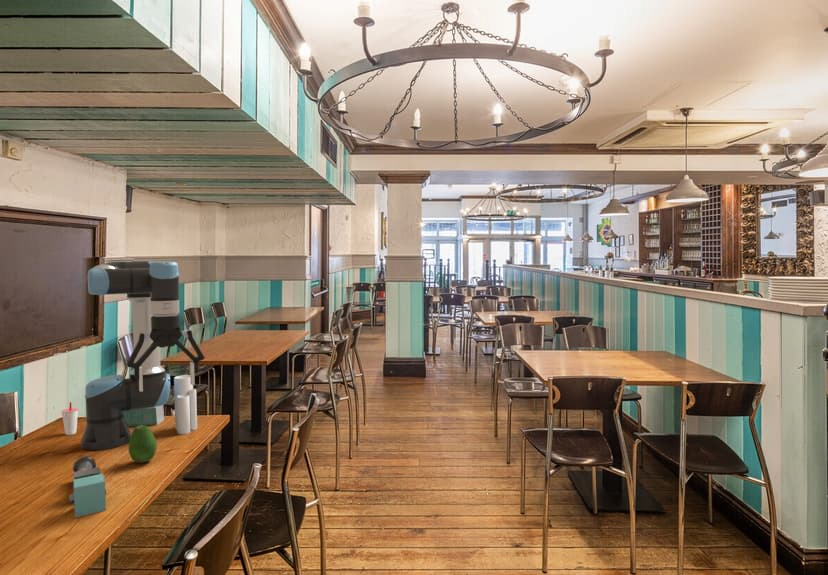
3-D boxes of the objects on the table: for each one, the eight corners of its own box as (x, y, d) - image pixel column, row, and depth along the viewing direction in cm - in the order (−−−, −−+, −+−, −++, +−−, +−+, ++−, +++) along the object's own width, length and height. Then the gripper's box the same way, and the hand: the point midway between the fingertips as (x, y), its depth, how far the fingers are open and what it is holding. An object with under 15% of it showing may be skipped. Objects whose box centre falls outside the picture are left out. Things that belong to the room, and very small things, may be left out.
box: (129, 420, 207) (129, 402, 206) (164, 419, 208) (163, 402, 208) (121, 426, 200) (120, 408, 199) (157, 425, 201) (156, 407, 200)
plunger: (73, 477, 149) (72, 458, 149) (95, 472, 152) (95, 454, 152) (75, 498, 136) (75, 477, 135) (100, 492, 139) (99, 472, 139)
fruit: (158, 463, 162) (157, 426, 161) (130, 469, 157) (128, 431, 157) (156, 455, 168) (155, 420, 168) (128, 460, 164) (127, 424, 164)
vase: (173, 427, 198) (172, 376, 197) (193, 423, 202) (192, 374, 201) (178, 435, 189) (177, 382, 188) (199, 431, 193) (197, 379, 192)
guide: (69, 496, 139) (68, 473, 139) (104, 488, 144) (104, 465, 143) (69, 503, 135) (68, 478, 135) (106, 494, 140) (105, 471, 140)
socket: (74, 508, 132) (73, 479, 132) (103, 501, 136) (102, 473, 136) (75, 517, 127) (74, 487, 127) (105, 510, 131) (104, 481, 131)
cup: (82, 432, 193) (81, 400, 193) (69, 436, 188) (67, 404, 187) (72, 430, 195) (71, 399, 194) (58, 435, 190) (57, 403, 189)
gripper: (116, 318, 137) (118, 396, 138) (213, 313, 150) (215, 384, 152) (115, 316, 144) (117, 390, 145) (208, 311, 157) (210, 379, 158)
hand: (167, 387), depth 148 cm, fingers open, 13 cm apart
